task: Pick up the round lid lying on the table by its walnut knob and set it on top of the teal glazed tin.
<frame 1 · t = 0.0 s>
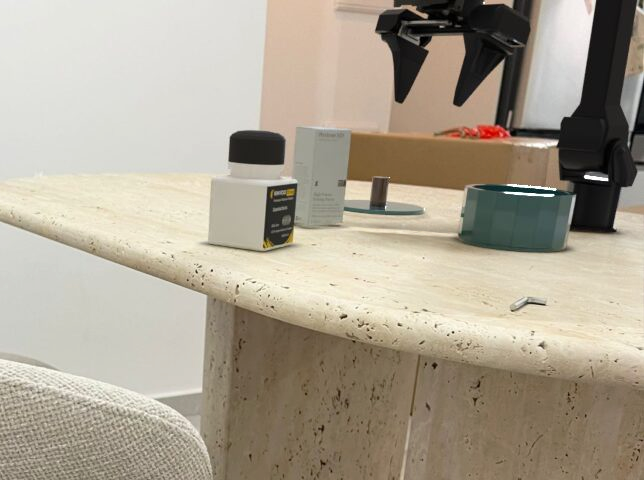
hand: (426, 104, 109), 15 cm above the table, tool pointing down, fingers open, 9 cm apart
medicine bottle: (250, 246, 105), on the table
tin: (510, 243, 116), on the table
cosmetic box: (314, 226, 123), on the table
lid: (377, 208, 139), point 1 cm above the table
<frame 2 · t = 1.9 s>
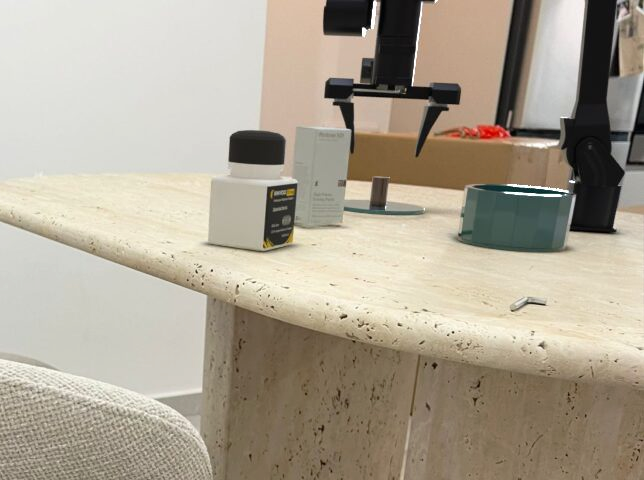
hand: (383, 155, 137), 8 cm above the table, tool pointing down, fingers open, 9 cm apart
nothing on the table moved.
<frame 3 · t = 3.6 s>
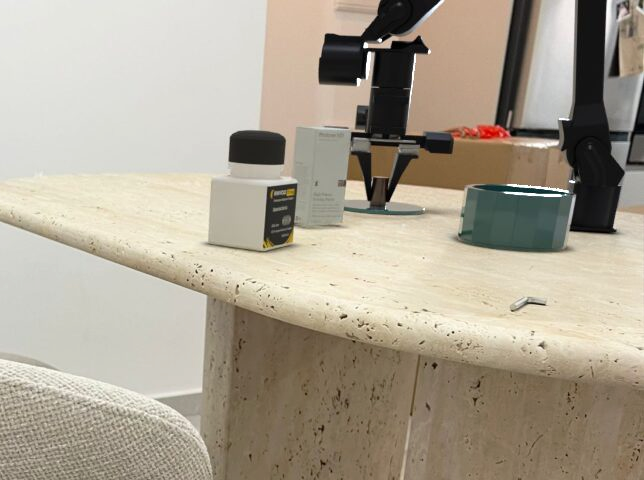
hand: (378, 201, 139), 2 cm above the table, tool pointing down, fingers closed on lid, 2 cm apart
lid: (377, 208, 139), point 1 cm above the table, touching gripper
everything else where it was.
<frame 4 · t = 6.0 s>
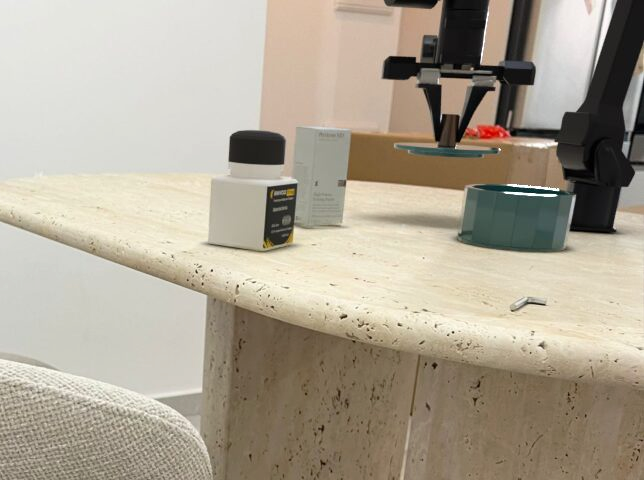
hand: (447, 142, 124), 11 cm above the table, tool pointing down, fingers closed on lid, 2 cm apart
lid: (446, 150, 125), point 10 cm above the table, touching gripper
everything else where it was.
when the fingers open (7 cm above the table, at t = 8.5 s): lid stays where it is, resting on tin.
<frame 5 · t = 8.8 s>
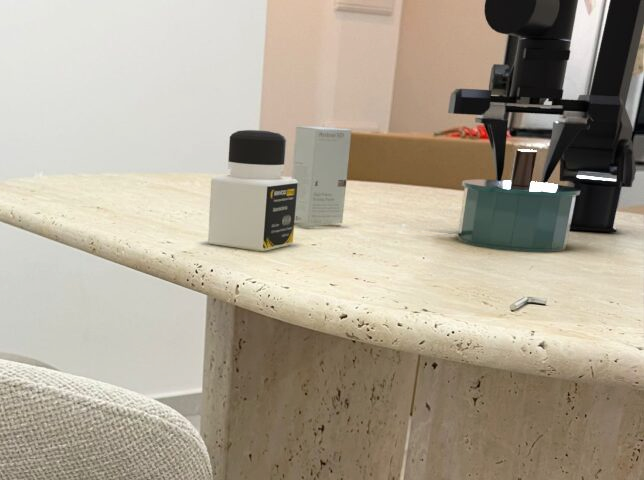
hand: (520, 182, 113), 7 cm above the table, tool pointing down, fingers open, 5 cm apart
lid: (519, 189, 114), point 6 cm above the table, touching tin
everything else where it was.
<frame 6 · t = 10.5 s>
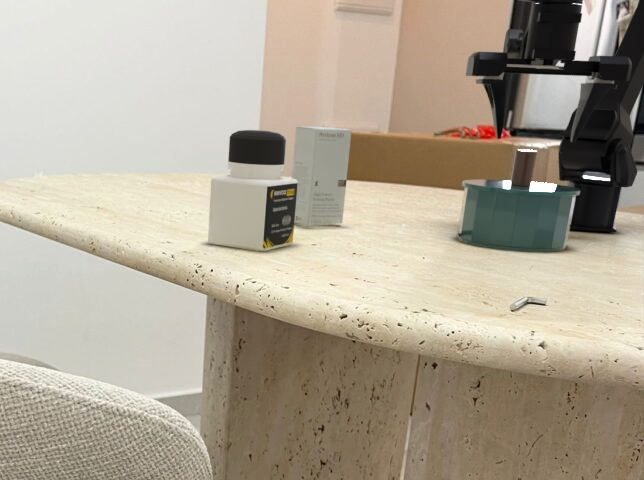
hand: (535, 140, 120), 12 cm above the table, tool pointing down, fingers open, 9 cm apart
nothing on the table moved.
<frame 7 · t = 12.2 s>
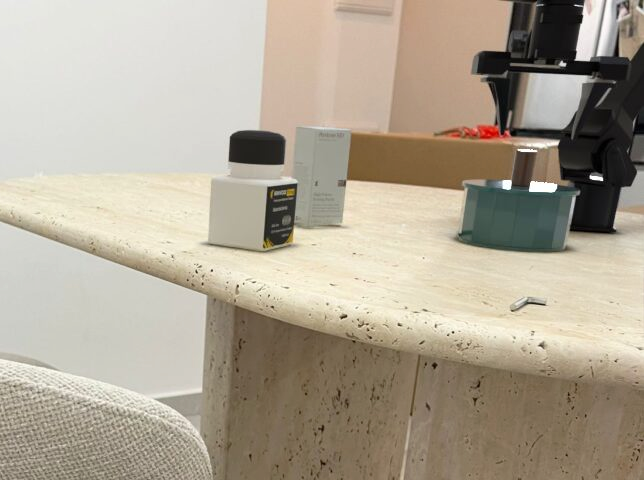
hand: (537, 137, 124), 12 cm above the table, tool pointing down, fingers open, 9 cm apart
nothing on the table moved.
at the end: lid 0.0 cm off-centre on the tin, point 6.4 cm above the tin's base; lid tilted 0° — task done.
